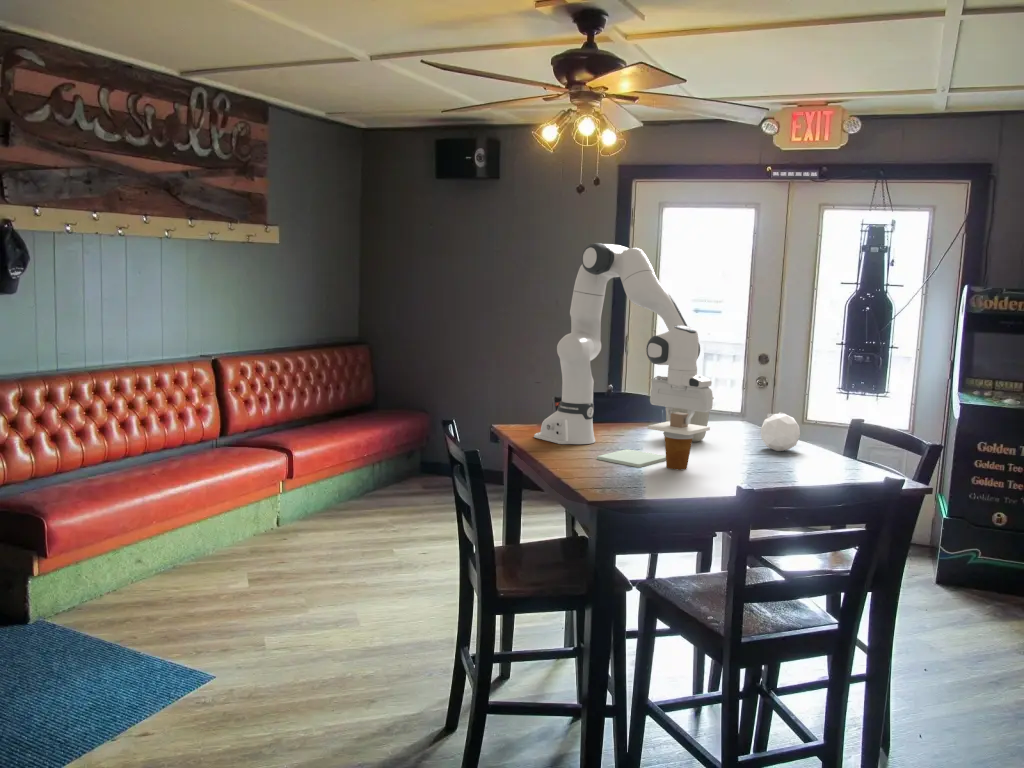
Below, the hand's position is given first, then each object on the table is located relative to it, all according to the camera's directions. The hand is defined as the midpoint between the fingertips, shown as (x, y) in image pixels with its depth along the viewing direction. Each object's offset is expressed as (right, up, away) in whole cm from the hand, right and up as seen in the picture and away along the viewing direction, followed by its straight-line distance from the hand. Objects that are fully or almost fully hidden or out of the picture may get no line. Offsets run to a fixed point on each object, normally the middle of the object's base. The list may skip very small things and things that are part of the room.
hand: (679, 422), depth 269 cm
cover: (0, -2, 0) cm, 2 cm away
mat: (-13, -12, +12) cm, 21 cm away
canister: (+12, -9, +51) cm, 53 cm away
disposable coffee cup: (0, -14, +2) cm, 14 cm away
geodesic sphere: (+43, -12, +37) cm, 58 cm away
